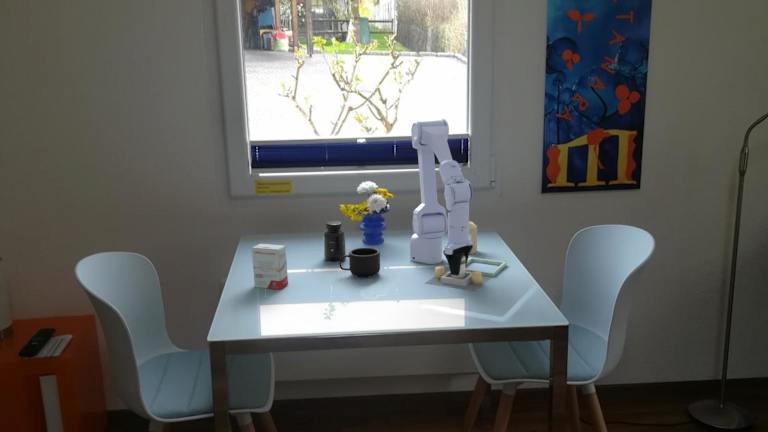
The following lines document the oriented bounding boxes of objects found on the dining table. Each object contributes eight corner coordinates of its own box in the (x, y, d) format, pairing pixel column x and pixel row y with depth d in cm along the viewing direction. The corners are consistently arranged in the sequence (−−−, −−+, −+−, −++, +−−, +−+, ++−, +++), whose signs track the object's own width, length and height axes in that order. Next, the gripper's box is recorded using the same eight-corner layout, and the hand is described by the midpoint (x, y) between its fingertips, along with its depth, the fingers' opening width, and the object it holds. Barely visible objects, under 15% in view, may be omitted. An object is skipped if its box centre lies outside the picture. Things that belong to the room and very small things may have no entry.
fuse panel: (424, 286, 198) (424, 272, 197) (442, 274, 208) (442, 261, 207) (475, 294, 191) (475, 280, 190) (490, 281, 201) (491, 267, 200)
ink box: (289, 284, 202) (286, 244, 199) (281, 290, 198) (278, 249, 195) (262, 281, 205) (259, 242, 202) (253, 287, 200) (251, 247, 198)
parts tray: (455, 274, 208) (455, 268, 207) (470, 263, 218) (470, 257, 217) (493, 280, 202) (493, 273, 202) (506, 268, 212) (506, 262, 212)
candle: (476, 254, 226) (476, 224, 224) (458, 254, 227) (459, 223, 225) (477, 249, 232) (477, 220, 229) (460, 249, 233) (460, 219, 230)
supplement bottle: (320, 261, 223) (319, 224, 220) (330, 255, 229) (328, 219, 226) (340, 263, 220) (338, 226, 217) (349, 257, 226) (348, 220, 224)
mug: (377, 268, 214) (376, 246, 213) (382, 278, 206) (382, 254, 204) (338, 272, 212) (337, 249, 211) (341, 281, 204) (340, 258, 202)
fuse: (448, 281, 199) (448, 257, 197) (454, 277, 202) (454, 253, 201) (462, 283, 197) (462, 259, 195) (467, 279, 200) (467, 255, 199)
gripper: (461, 233, 188) (461, 282, 191) (481, 220, 200) (480, 266, 203) (437, 230, 191) (437, 278, 194) (458, 218, 203) (458, 263, 207)
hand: (458, 272), depth 199 cm, fingers closed on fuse, 4 cm apart
